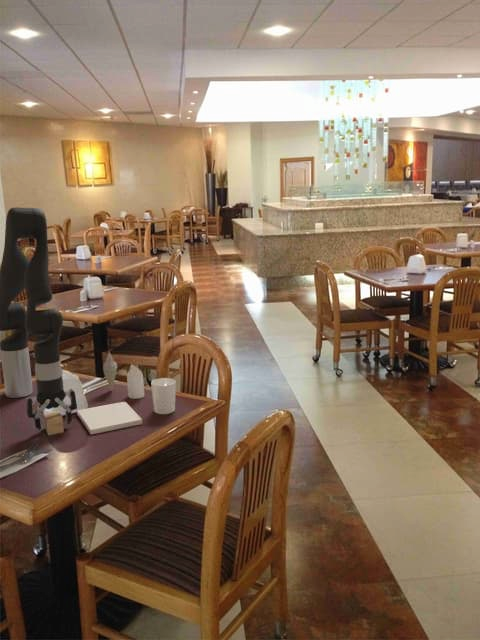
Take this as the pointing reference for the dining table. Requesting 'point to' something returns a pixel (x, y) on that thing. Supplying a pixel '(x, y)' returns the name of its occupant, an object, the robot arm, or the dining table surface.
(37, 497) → the dining table surface
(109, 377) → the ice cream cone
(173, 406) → the white cup
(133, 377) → the white pointed crystal
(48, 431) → the oak block
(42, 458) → the dining table surface
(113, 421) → the platter
